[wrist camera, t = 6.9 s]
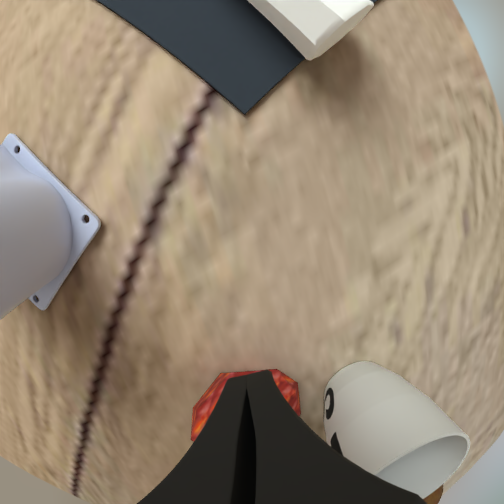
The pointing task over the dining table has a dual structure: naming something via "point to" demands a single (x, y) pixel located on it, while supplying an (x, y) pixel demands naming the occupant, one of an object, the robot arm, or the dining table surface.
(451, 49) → the dining table surface
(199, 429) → the decorative stone
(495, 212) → the dining table surface
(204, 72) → the mat
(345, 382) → the cup
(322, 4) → the salt shaker
